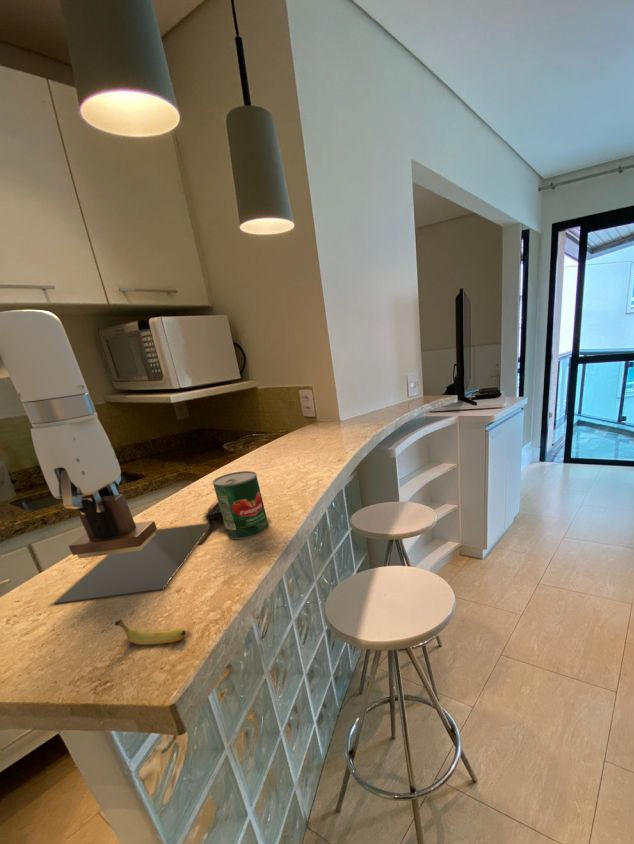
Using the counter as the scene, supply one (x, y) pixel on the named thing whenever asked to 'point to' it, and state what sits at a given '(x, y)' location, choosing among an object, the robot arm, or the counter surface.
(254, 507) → the canned tomato
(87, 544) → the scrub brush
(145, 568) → the slate board
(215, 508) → the hairbrush
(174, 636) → the banana
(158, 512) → the counter surface
